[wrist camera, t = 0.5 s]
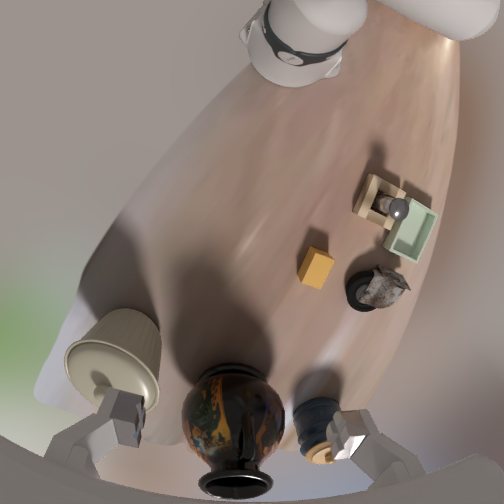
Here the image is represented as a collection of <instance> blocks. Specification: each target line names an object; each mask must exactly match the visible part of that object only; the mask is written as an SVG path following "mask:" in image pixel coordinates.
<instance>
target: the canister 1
mask: <svg viewBox="0 0 504 504" xmlns="http://www.w3.org/2000/svg"><path fill="white" fill-rule="evenodd" d="M161 346H162V341H161V336H160V333H159V330H158V329H157V326H156V325H155V324H154V322H152V320H151V319H150V318H148V316H146V315H144V314H143V313H141V312H139V311H136V310H134V309H130V308H128V309H126V308H123V309H121V308H120V309H116V310H113V311H111V312H109V313H108V314H107V315H105V316H104V317H103V318H102V319H101V320H100V321H99V322H97V323H96V324H95V325H94V326H93V327H92V328H91V329H90V330H89V332H88V333H87V334H86V335H85V336H84V337H83V338H82V339H81V340H79V341H76V342H74V343H73V344H72V345H70V346H69V348H68V349H67V351H66V353H65V357H64V366H65V371H66V374H67V376H68V378H69V380H70V382H71V383H72V385H73V386H74V387H75V389H76V390H77V391H78V392H79V393H80V394H81V395H82V396H83V397H84V398H85V399H87V400H88V401H89V402H91V403H92V404H94V405H95V406H97V407H100V405H101V403H102V400H103V398H104V396H105V393H106V391H107V389H108V388H109V387H111V388H115V389H119V390H123V391H126V392H130V393H134V394H138V395H142V396H144V398H145V403H144V407H145V410H146V413H147V412H149V411H151V410H152V409H153V408H154V407H155V406H156V405H157V403H158V401H159V397H160V388H159V384H158V377H159V369H160V360H161Z"/></svg>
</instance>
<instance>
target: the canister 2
mask: <svg viewBox="0 0 504 504" xmlns="http://www.w3.org/2000/svg"><path fill="white" fill-rule="evenodd" d="M337 411H341V408H340V406H339V405H338V404H337V402H336V401H335V400H333V399H330V398H317V399H313V400H310V401H308V402H306V403H304V404H302V405H301V406H300V407H299V408H298V409H297V410H296V411H295V413H294V419H293V421H294V426H295V427H296V432H297V436H298V443H299V444H300V445H301V448H300V452H301V454H302V455H304V456H305V458H306V460H307V461H308V462H310V463H316V464H327V463H328V464H333V463H334V462H335V461H336V460H338V459H333V456H332V453H331V450H330V448H331V446H332V444H331V443H329V442H328V440H327V437H326V430H327V426H328V424H329V423H330V422H331V421H333V420H334V419H333V415H334V414H335V413H336V412H337Z"/></svg>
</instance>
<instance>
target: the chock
mask: <svg viewBox="0 0 504 504" xmlns="http://www.w3.org/2000/svg"><path fill="white" fill-rule="evenodd" d="M334 261H335V260H334V259H333V258H332V257H331V256H330V254H329V253H326V252H324V251H321V250H319V249H316V248H314V247H311V246H310V248H309V250H308V252H307V254H306V256H305V259H304V261H303V263H302V265H301V267H300V269H299V271H298V274H297V275H298V277H299V279H300V281H301V283H304V284H307V285H309V286H312V287H315V288H318V289H321V288H322V286H323V284H324V282H325V280H326V278H327V276H328V274H329V271H330V269H331V267H332V265H333V263H334Z"/></svg>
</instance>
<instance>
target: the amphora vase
mask: <svg viewBox="0 0 504 504" xmlns="http://www.w3.org/2000/svg"><path fill="white" fill-rule="evenodd" d="M182 428H183V431H184V435H185V437H186V439H187V441H188V443H189V445H190V447H191V449H192V450H193V451H194V452H195V453H196V454H197V455H198V456H199V457H200V458H201V459H202V460H203V461H205V462H206V463H207V464H208V465H209V466H210V468H211V472H209V473H207V474H205V475H203V476H202V477H201V478H200V479H199V483H198V485H199V487H200V489H201V490H202V491H203V492H205V493H206V494H208V495H211V496H213V497H217V498H221V499H229V500H241V499H249V498H254V497H258V496H260V495H263V494H265V493H267V492H268V491H269V490H270V489H271V488H272V486H273V479H272V478H271V477H270V476H269V475H267V474H265V473H264V472H261V471H260V469H259V468H260V466H261V465H262V463H263V462H264V461H265V460H266V459H267V458H268V457H270V456H271V455H272V453H274V451H275V450H276V449H277V447H278V445H279V443H280V441H281V439H282V436H283V433H284V429H285V410H284V406H283V403H282V401H281V399H280V397H279V395H278V394H277V392H276V391H275V390H274V389H273V388H272V387H271V386H270V385H269V384H268V383H267V381H266V379H265V377H264V376H263V375H262V374H261V373H260V372H259V371H258V370H256V369H255V368H253V367H251V366H248V365H244V364H238V363H226V364H220V365H217V366H214V367H212V368H210V369H208V370H206V371H205V372H204V373H203V374H202V375H201V376H200V378H199V380H198V383H197V385H196V386H195V387H194V388H193V389H192V390H191V391H190V392H189V393H188V395H187V397H186V399H185V401H184V403H183V408H182Z"/></svg>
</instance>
